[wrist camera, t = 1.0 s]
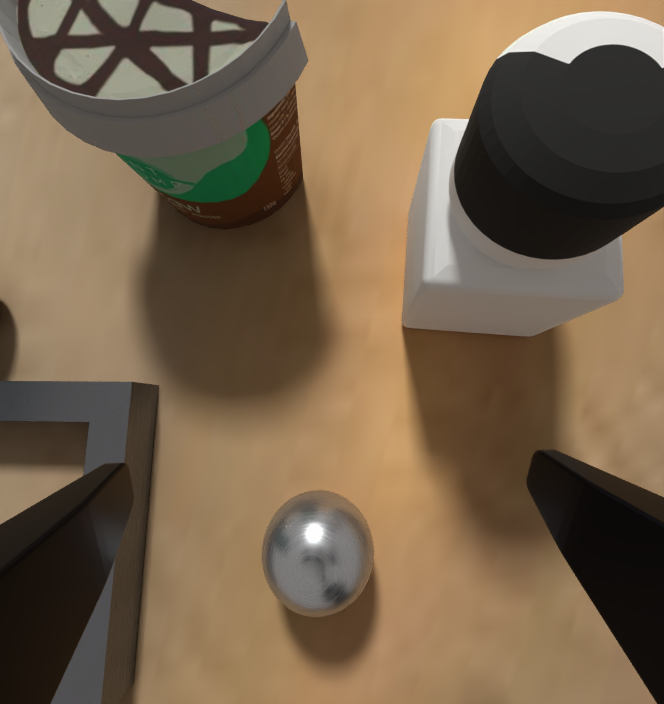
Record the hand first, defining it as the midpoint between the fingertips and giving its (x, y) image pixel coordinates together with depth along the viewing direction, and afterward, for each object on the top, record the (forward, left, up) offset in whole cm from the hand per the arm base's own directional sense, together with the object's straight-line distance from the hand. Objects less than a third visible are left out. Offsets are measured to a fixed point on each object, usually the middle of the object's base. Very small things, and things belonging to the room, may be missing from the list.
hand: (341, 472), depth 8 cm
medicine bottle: (+9, -7, -12) cm, 16 cm away
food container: (+14, +8, -12) cm, 20 cm away
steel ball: (-5, +1, -9) cm, 11 cm away
